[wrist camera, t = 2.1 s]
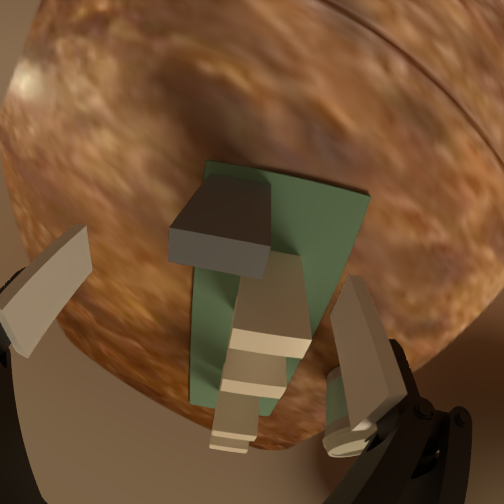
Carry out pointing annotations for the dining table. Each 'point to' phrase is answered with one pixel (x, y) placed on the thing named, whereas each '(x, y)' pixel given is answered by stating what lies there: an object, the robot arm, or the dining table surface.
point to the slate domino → (224, 227)
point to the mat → (282, 240)
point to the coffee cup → (341, 421)
